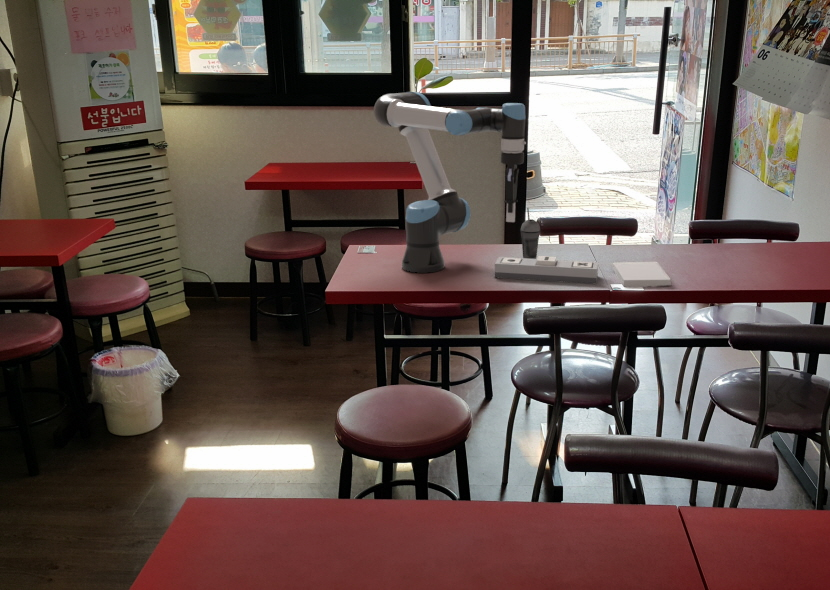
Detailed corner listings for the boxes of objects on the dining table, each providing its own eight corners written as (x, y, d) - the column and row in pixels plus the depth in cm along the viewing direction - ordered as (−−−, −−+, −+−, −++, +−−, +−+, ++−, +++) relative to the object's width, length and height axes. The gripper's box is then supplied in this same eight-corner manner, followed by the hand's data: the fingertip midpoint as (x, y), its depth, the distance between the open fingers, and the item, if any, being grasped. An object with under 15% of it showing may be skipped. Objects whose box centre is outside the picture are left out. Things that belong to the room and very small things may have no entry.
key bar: (536, 267, 273) (536, 260, 272) (538, 262, 278) (538, 255, 277) (554, 268, 271) (554, 261, 270) (556, 263, 277) (556, 256, 276)
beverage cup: (540, 264, 292) (542, 209, 286) (520, 264, 292) (521, 209, 286) (538, 258, 299) (540, 205, 293) (518, 259, 299) (519, 205, 293)
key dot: (501, 269, 276) (501, 262, 275) (503, 264, 282) (503, 257, 281) (518, 270, 275) (518, 263, 274) (521, 265, 280) (521, 258, 279)
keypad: (494, 277, 276) (494, 263, 274) (498, 270, 284) (498, 256, 283) (596, 283, 268) (597, 269, 266) (597, 276, 276) (598, 262, 274)
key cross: (572, 273, 270) (572, 265, 269) (573, 268, 276) (574, 261, 275) (590, 274, 269) (591, 266, 268) (591, 269, 274) (592, 262, 273)
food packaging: (670, 289, 263) (656, 270, 282) (670, 279, 262) (656, 261, 281) (623, 290, 264) (612, 271, 283) (623, 280, 263) (612, 262, 282)
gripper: (521, 154, 260) (518, 226, 267) (526, 149, 272) (524, 218, 279) (498, 153, 262) (496, 225, 269) (504, 148, 274) (502, 216, 281)
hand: (510, 221), depth 274 cm, fingers closed
